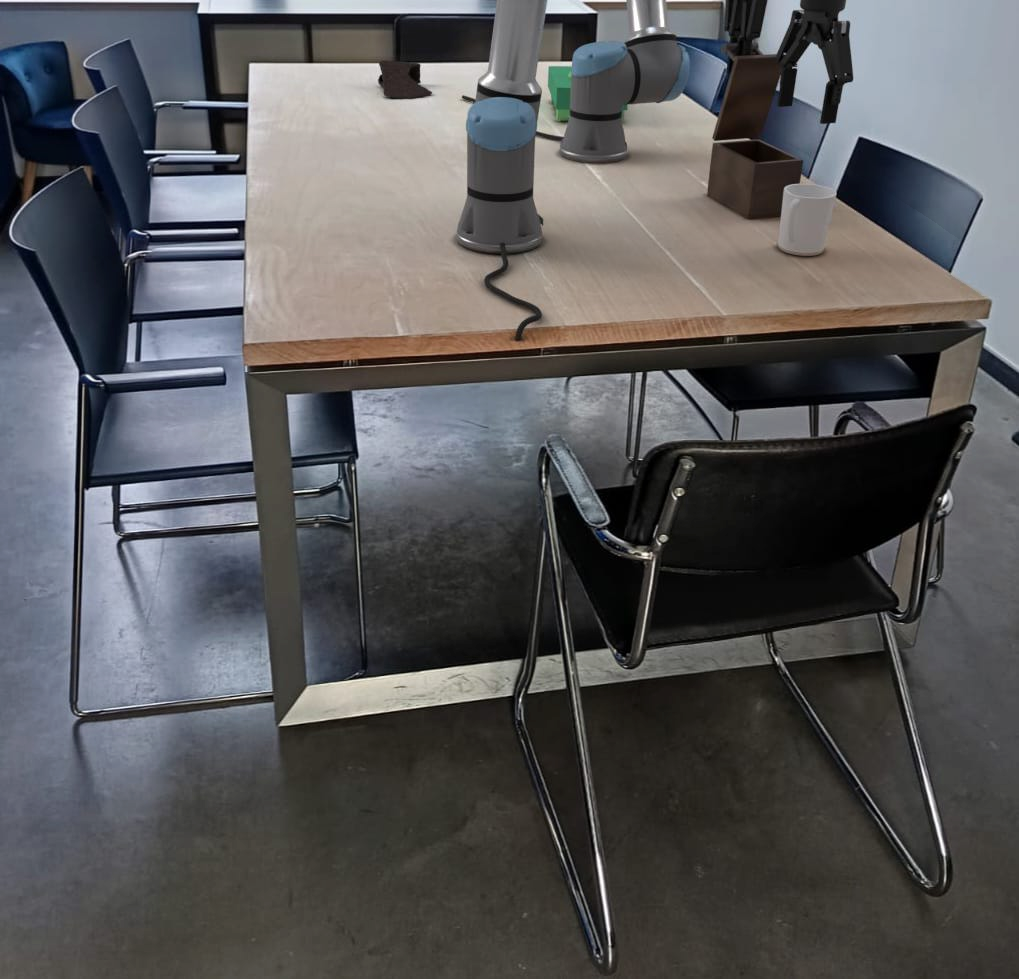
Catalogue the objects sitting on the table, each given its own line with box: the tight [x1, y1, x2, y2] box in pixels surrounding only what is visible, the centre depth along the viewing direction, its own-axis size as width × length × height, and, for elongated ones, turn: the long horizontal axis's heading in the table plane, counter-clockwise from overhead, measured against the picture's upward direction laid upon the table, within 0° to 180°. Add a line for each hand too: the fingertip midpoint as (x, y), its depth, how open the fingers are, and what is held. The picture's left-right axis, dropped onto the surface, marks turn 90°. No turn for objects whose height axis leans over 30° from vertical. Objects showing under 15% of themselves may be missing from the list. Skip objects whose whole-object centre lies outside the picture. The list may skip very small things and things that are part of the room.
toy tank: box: [547, 65, 629, 122], centre depth 283 cm, size 18×12×35 cm
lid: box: [711, 41, 786, 142], centre depth 214 cm, size 17×10×9 cm
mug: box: [777, 183, 837, 257], centre depth 191 cm, size 11×9×10 cm
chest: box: [706, 138, 804, 220], centre depth 215 cm, size 16×10×10 cm, turn 20°
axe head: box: [377, 59, 433, 99], centre depth 299 cm, size 18×8×15 cm
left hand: (805, 114), depth 196 cm, fingers open, 13 cm apart
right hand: (736, 73), depth 214 cm, fingers closed on lid, 2 cm apart
